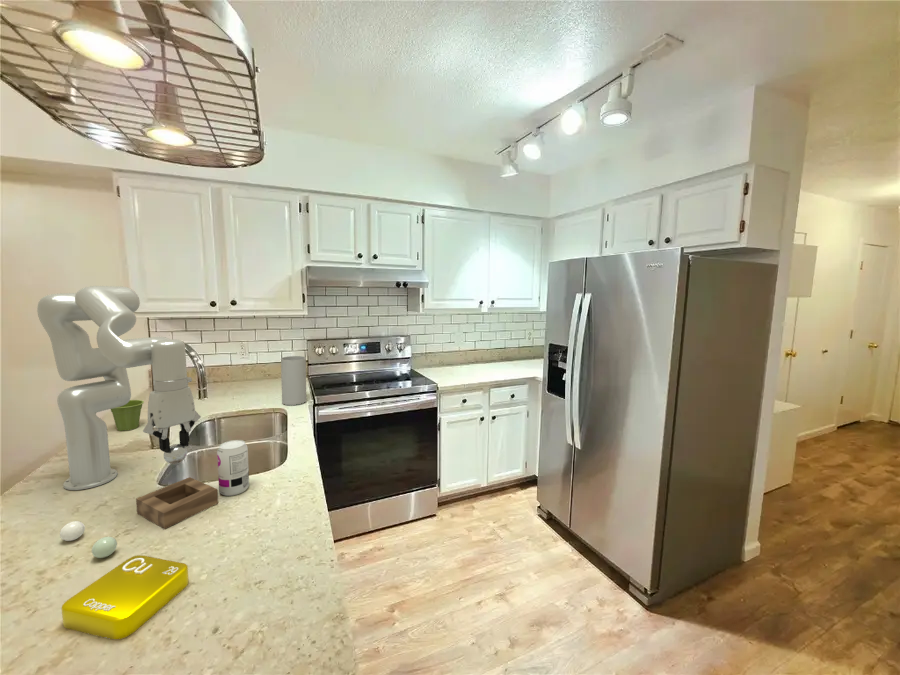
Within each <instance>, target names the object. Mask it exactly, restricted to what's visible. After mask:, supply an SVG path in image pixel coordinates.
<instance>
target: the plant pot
mask: <svg viewBox="0 0 900 675" xmlns="http://www.w3.org/2000/svg"><path fill="white" fill-rule="evenodd" d="M144 403H145V401H144V400H143V399H130V401H129V402H128V403H127V404H125V405H123V406H120V407H116V408H112V409H110V412H111V413H112V416H113V419H114V420H113V421H114V424H115V427H116V430H117V431H119V432H123V431H127V432H128V431H132V430H135V429H137V428H139V426H140V420H141V419H140V418H141V413H142V412H141V411H142V408H143V404H144Z"/></svg>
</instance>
